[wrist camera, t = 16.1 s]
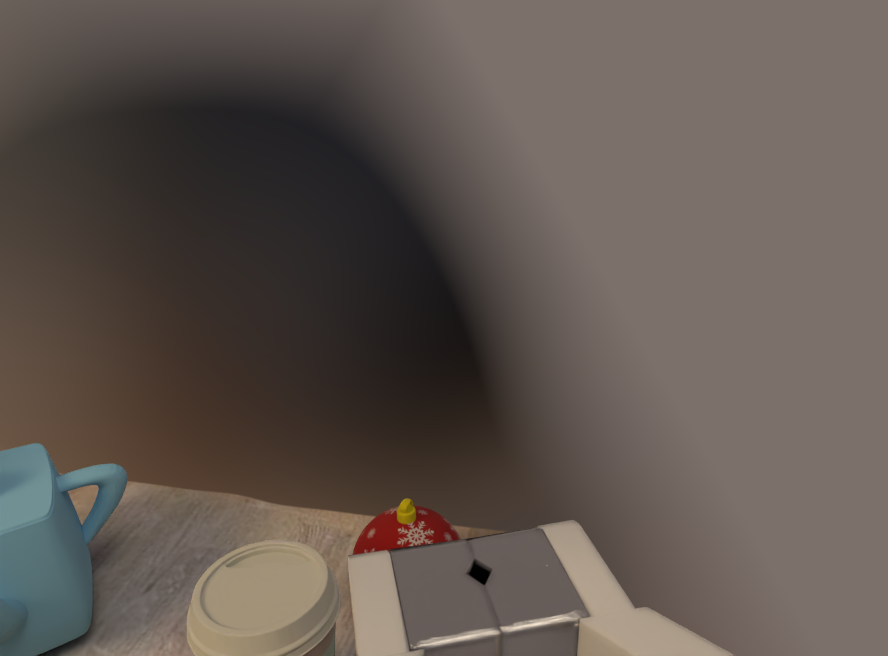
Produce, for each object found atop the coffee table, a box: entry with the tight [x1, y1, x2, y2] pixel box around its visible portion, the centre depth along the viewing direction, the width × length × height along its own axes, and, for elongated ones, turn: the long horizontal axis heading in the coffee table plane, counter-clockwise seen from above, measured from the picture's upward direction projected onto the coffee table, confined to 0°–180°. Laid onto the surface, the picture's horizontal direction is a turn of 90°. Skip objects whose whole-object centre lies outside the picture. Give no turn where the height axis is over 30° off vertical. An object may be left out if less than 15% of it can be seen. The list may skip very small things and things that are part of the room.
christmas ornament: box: [353, 499, 461, 555], centre depth 48 cm, size 9×9×10 cm
